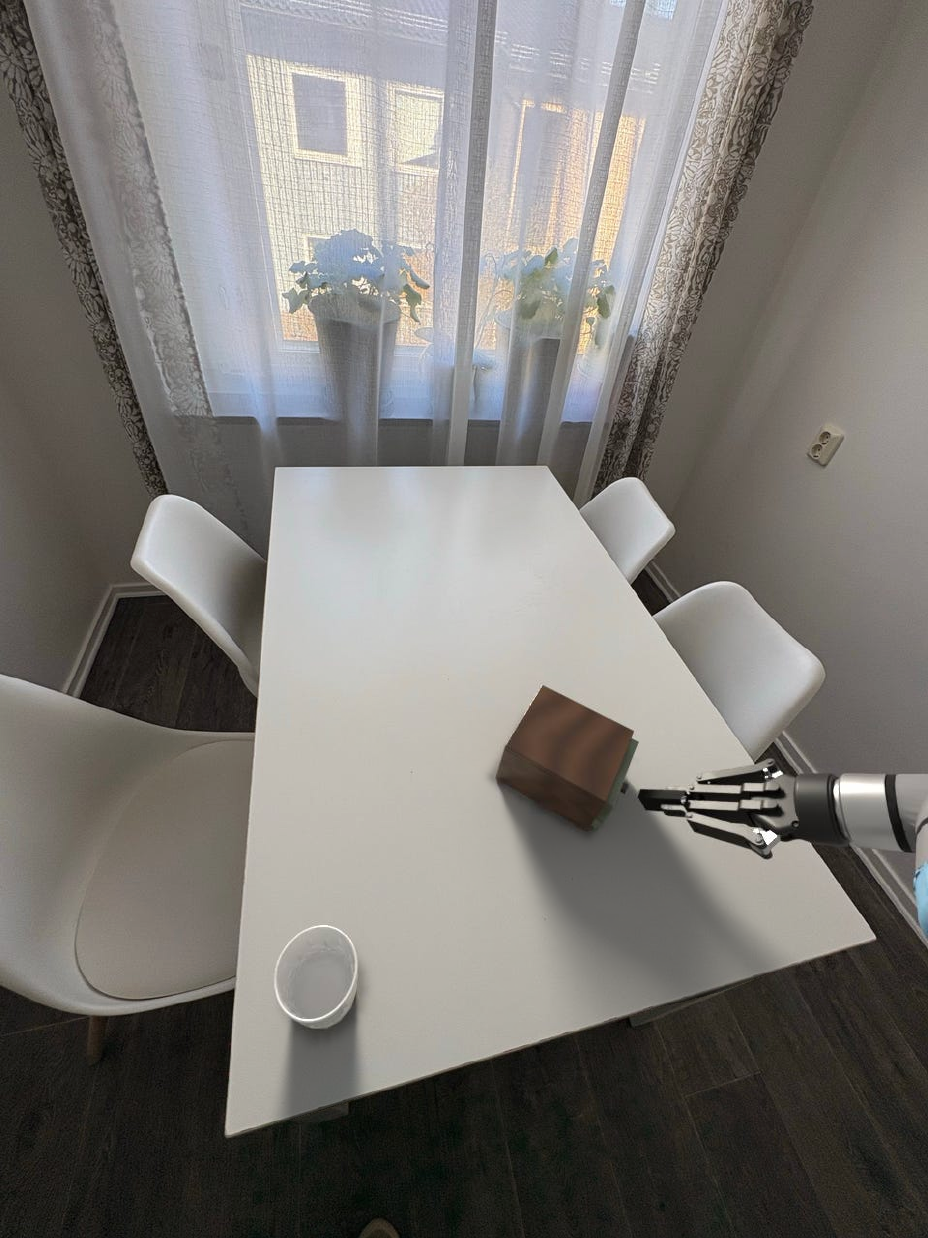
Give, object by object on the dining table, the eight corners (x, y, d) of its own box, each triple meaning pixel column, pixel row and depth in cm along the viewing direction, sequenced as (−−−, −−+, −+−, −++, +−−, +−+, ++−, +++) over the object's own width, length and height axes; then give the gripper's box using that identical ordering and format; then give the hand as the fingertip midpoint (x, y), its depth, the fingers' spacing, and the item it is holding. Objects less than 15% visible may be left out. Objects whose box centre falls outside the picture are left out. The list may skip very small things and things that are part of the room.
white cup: (280, 1036, 54) (263, 1022, 47) (297, 948, 59) (284, 924, 52) (356, 1037, 54) (350, 1023, 47) (366, 950, 60) (362, 926, 53)
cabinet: (614, 763, 81) (634, 730, 74) (586, 831, 72) (606, 802, 66) (530, 718, 85) (542, 684, 79) (495, 778, 77) (504, 745, 70)
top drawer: (630, 770, 79) (647, 745, 74) (606, 834, 71) (622, 811, 66) (543, 724, 83) (553, 698, 78) (512, 780, 76) (521, 754, 71)
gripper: (855, 887, 52) (641, 858, 69) (855, 786, 61) (665, 782, 77) (831, 838, 50) (616, 820, 67) (835, 740, 58) (643, 746, 75)
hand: (642, 799), depth 72 cm, fingers closed
